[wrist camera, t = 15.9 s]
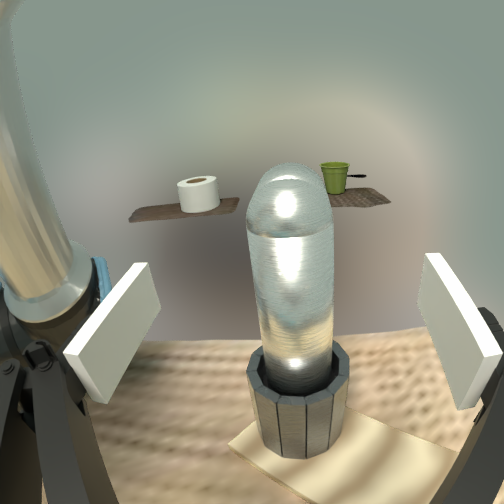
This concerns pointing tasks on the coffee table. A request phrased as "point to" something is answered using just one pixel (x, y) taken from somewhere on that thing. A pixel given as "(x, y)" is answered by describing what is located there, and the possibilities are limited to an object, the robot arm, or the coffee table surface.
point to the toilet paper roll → (198, 194)
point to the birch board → (356, 465)
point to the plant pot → (335, 176)
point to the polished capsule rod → (293, 277)
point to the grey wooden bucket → (299, 410)
